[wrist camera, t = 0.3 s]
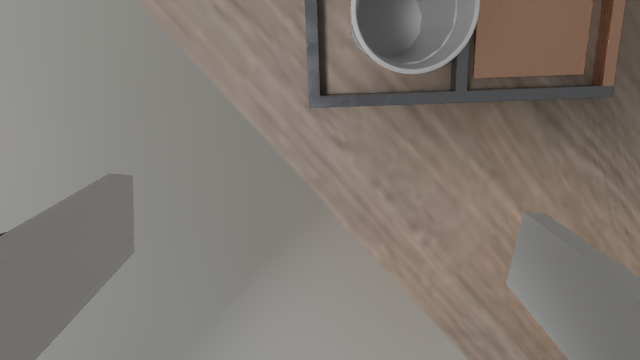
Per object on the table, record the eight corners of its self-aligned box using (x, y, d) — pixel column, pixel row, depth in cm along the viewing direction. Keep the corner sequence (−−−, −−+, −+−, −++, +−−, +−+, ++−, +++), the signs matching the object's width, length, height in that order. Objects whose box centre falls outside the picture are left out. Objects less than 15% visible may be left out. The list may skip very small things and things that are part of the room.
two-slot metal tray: (309, 106, 40) (309, 108, 39) (302, -62, 36) (301, -67, 35) (601, 95, 40) (612, 97, 39) (624, -74, 36) (636, -80, 35)
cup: (448, 27, 39) (506, 13, 27) (379, 88, 40) (405, 100, 28) (391, -47, 37) (426, -96, 25) (321, 19, 38) (324, 1, 27)
